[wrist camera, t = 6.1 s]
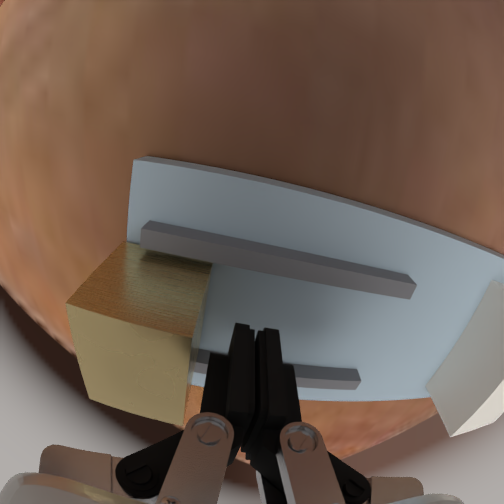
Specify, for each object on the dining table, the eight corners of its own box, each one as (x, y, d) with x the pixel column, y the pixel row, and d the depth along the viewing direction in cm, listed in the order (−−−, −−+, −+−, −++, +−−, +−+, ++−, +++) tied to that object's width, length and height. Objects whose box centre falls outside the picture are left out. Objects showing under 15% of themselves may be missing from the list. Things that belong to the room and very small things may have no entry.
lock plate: (146, 156, 12) (123, 162, 9) (523, 264, 14) (543, 279, 11) (137, 353, 16) (125, 381, 14) (453, 381, 18) (464, 400, 16)
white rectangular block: (491, 279, 12) (539, 325, 8) (526, 290, 13) (565, 327, 8) (425, 385, 16) (449, 437, 11) (470, 380, 17) (494, 422, 12)
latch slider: (123, 241, 11) (65, 302, 7) (213, 260, 12) (192, 337, 7) (125, 329, 13) (89, 398, 9) (198, 347, 14) (183, 426, 9)
